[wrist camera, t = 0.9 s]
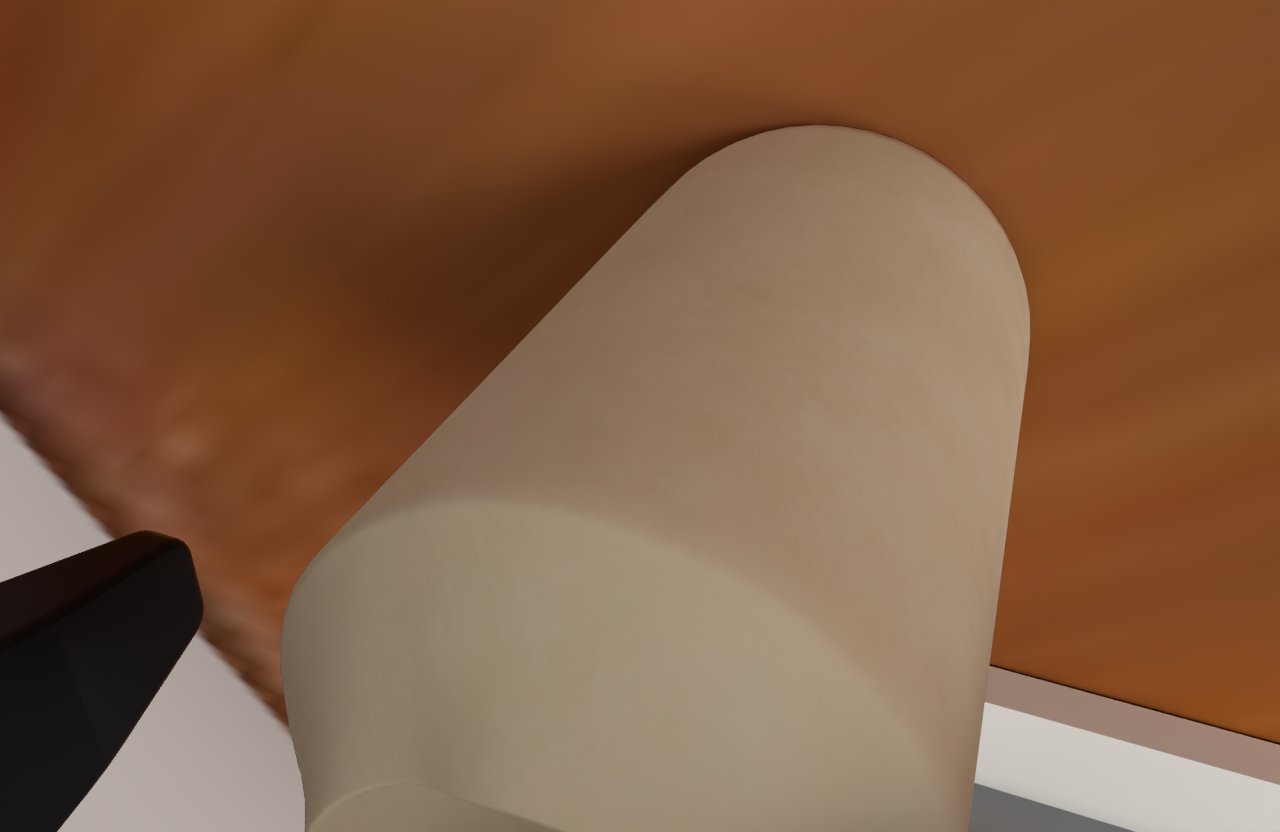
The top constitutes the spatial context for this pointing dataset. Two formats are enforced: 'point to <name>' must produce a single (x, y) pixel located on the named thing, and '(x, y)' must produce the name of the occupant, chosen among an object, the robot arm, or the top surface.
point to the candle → (695, 529)
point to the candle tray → (1113, 767)
